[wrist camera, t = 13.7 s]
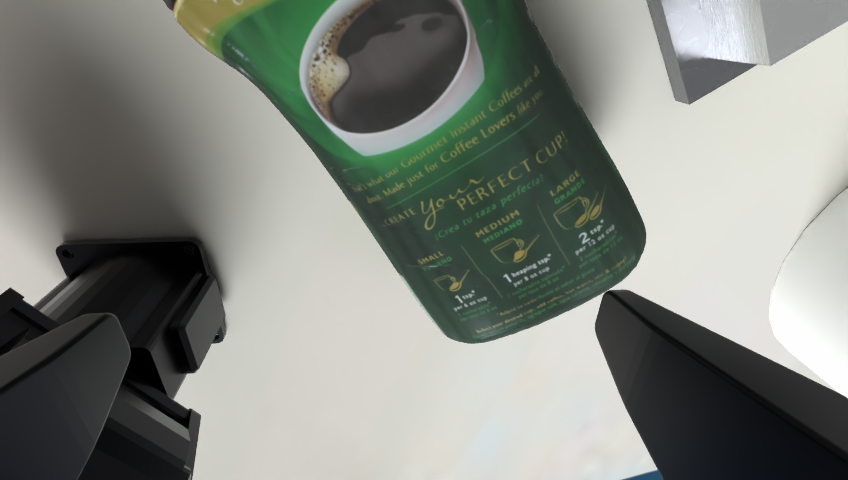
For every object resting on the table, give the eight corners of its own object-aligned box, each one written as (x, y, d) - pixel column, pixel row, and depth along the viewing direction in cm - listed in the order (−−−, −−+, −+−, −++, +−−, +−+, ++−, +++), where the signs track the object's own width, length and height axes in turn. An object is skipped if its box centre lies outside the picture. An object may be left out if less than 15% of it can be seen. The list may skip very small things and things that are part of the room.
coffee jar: (600, 180, 21) (392, -308, 12) (687, 275, 14) (362, -646, 6) (435, 264, 24) (169, -89, 15) (442, 378, 17) (-30, -144, 8)
